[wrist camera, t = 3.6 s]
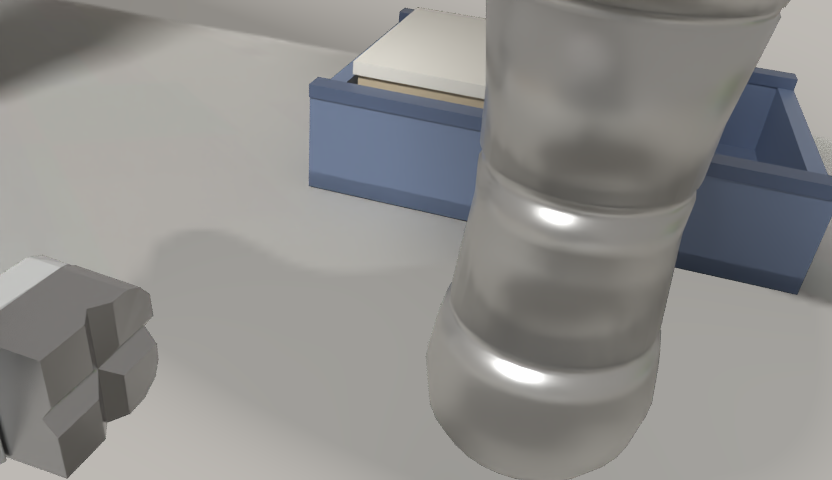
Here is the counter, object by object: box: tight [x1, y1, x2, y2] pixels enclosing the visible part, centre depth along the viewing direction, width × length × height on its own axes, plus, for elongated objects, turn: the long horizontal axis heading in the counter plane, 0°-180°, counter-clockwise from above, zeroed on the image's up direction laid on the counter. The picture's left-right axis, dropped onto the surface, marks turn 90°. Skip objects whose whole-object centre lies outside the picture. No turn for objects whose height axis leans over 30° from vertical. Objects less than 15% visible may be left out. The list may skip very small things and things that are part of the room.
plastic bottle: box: [426, 0, 790, 480], centre depth 18 cm, size 6×7×20 cm
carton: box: [353, 7, 486, 109], centre depth 39 cm, size 8×10×5 cm
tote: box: [309, 8, 832, 295], centre depth 38 cm, size 22×14×5 cm, turn 74°
